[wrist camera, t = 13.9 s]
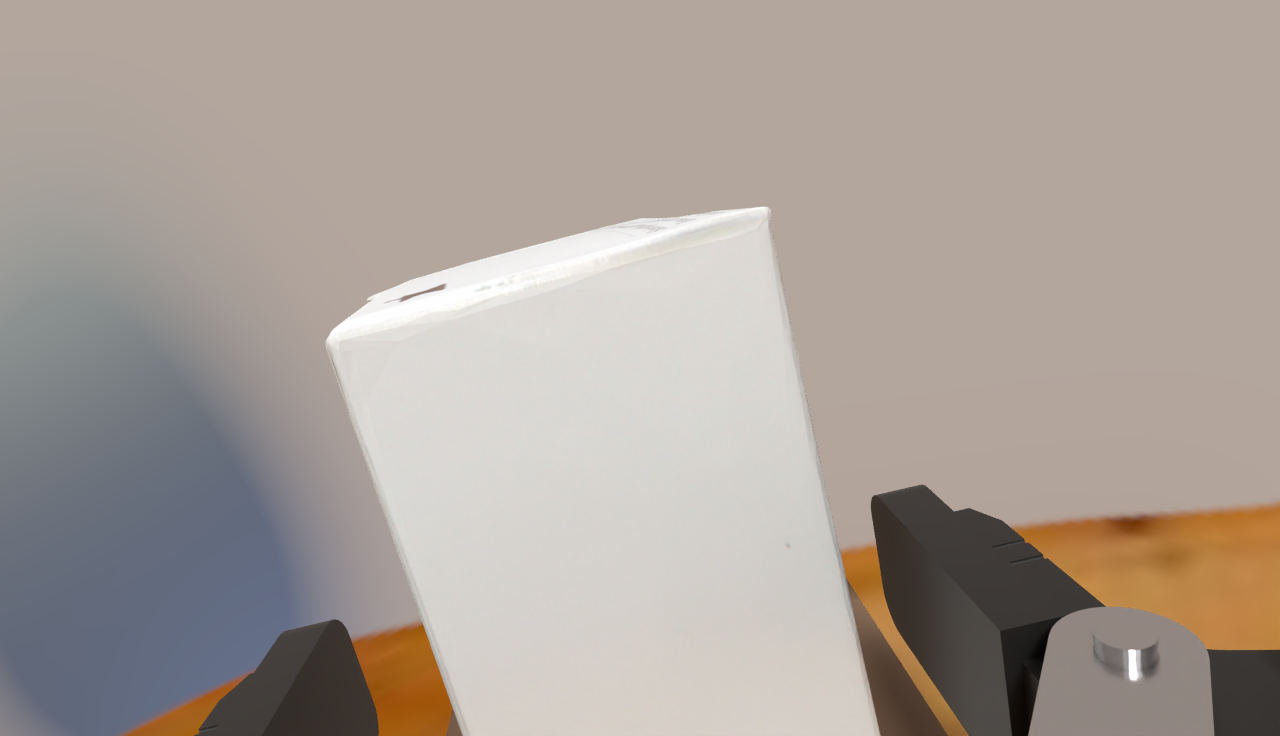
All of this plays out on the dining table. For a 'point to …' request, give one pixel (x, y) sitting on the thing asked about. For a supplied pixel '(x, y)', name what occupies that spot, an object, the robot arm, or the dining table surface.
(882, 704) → the cross stand
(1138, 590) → the dining table surface
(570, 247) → the skincare box
